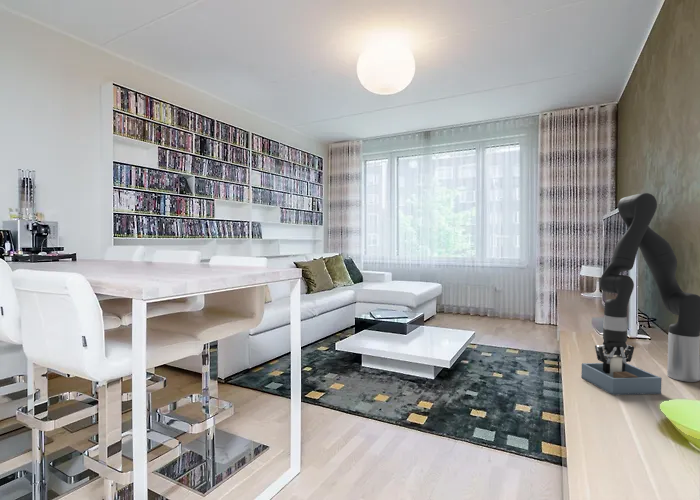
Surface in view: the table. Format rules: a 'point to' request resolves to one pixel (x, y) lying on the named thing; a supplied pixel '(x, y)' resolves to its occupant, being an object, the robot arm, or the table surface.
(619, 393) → the tote
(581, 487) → the table surface
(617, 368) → the ceramic canister
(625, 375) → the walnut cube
